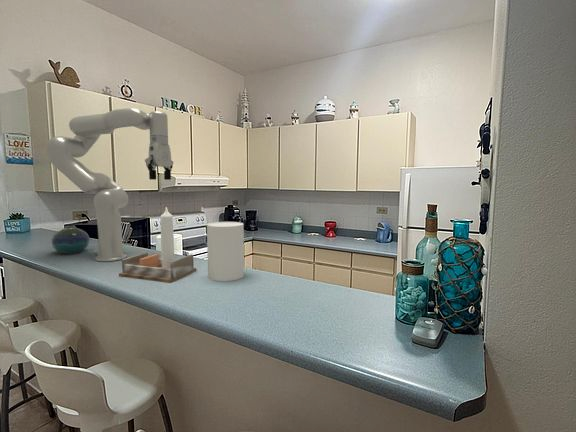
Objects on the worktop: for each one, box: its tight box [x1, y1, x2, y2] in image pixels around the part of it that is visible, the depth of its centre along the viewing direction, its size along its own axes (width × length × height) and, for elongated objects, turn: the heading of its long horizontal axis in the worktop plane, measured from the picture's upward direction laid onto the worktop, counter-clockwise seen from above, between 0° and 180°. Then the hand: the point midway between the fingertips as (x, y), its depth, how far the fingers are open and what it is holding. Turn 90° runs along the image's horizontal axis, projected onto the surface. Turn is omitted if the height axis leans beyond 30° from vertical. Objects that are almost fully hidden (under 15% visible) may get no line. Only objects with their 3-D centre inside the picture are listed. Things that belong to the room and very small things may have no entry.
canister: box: [206, 221, 245, 282], centre depth 120 cm, size 14×14×20 cm
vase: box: [51, 224, 90, 255], centre depth 156 cm, size 15×15×13 cm
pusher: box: [139, 253, 160, 267], centre depth 124 cm, size 1×9×5 cm, turn 163°
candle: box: [159, 206, 175, 269], centre depth 121 cm, size 7×7×25 cm
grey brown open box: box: [118, 252, 197, 283], centre depth 123 cm, size 23×16×7 cm
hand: (160, 179), depth 142 cm, fingers open, 9 cm apart
